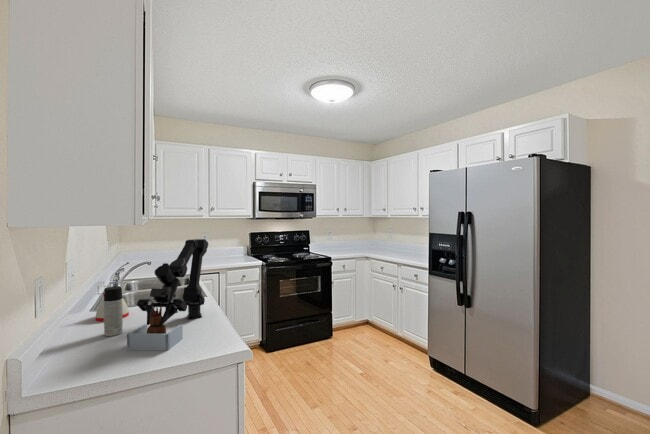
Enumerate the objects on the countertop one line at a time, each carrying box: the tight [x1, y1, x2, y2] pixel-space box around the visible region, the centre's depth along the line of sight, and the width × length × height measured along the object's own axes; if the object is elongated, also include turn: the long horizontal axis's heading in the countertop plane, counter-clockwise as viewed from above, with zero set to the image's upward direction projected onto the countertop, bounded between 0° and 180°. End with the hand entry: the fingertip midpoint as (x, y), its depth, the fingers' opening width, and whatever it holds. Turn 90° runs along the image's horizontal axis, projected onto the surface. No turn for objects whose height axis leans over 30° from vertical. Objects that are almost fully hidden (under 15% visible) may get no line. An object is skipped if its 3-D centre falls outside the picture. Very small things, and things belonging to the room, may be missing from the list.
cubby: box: [126, 323, 183, 351], centre depth 126 cm, size 11×16×6 cm
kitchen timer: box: [95, 292, 130, 323], centre depth 161 cm, size 14×14×15 cm
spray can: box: [103, 285, 124, 337], centre depth 138 cm, size 7×7×20 cm
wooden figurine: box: [147, 305, 167, 334], centre depth 127 cm, size 7×6×15 cm
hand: (154, 324), depth 125 cm, fingers closed on wooden figurine, 5 cm apart
